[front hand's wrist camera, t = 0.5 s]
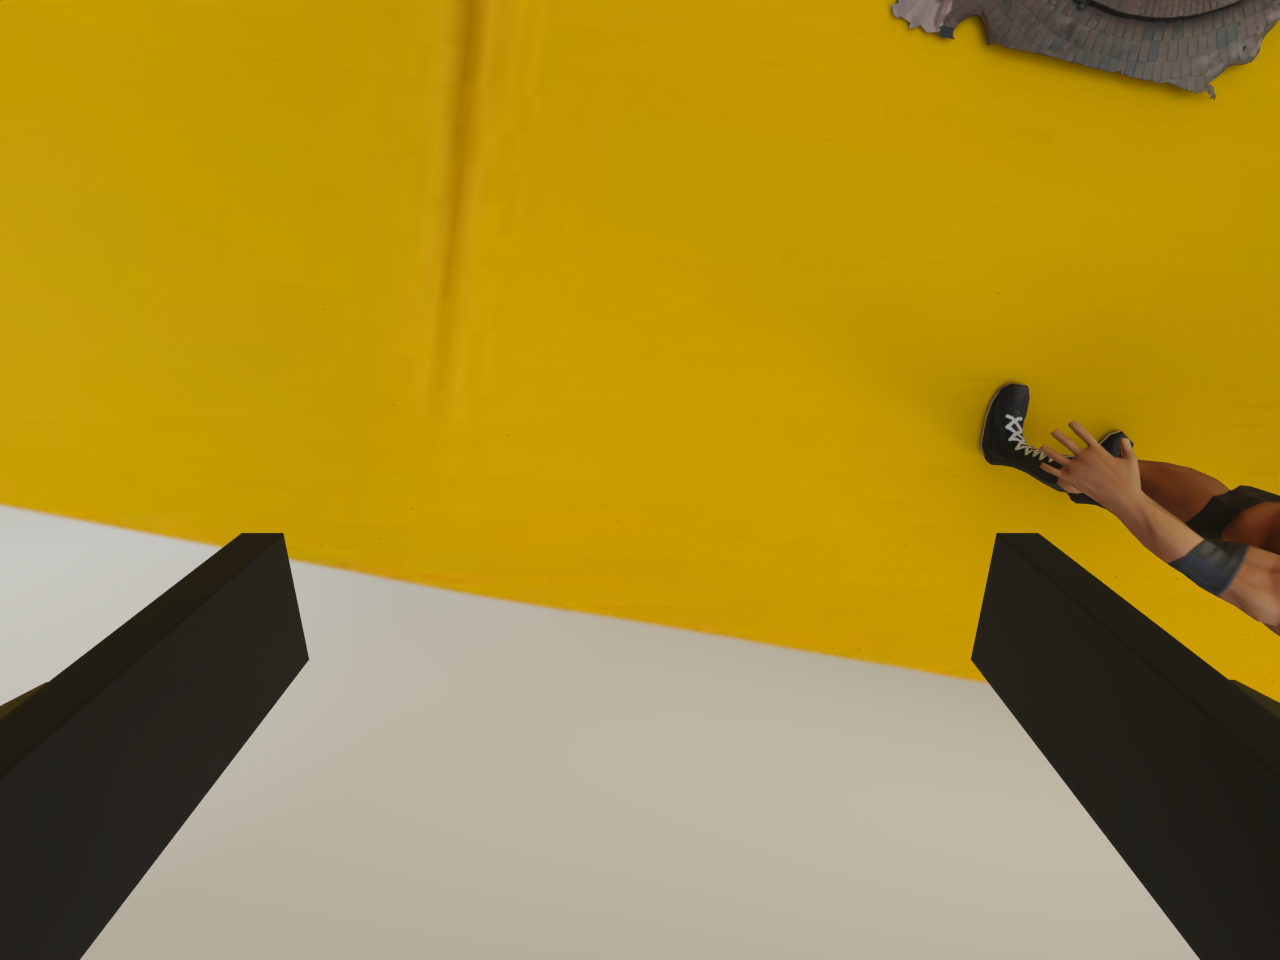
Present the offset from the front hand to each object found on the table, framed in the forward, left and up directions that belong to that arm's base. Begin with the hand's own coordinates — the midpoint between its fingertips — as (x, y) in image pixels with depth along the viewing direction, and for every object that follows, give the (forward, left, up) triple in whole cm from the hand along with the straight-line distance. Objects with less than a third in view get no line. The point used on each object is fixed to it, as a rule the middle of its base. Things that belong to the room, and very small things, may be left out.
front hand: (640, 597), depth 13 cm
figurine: (+8, +31, -38) cm, 49 cm away
